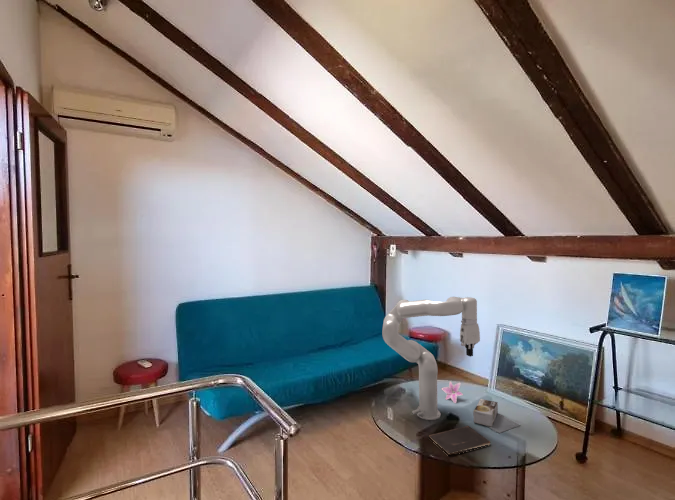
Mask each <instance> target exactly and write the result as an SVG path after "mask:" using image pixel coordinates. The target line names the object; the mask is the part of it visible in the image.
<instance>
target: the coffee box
mask: <svg viewBox="0 0 675 500" xmlns="http://www.w3.org/2000/svg"><path fill="white" fill-rule="evenodd" d="M498 404H499V403H498V401H494V400H489V399H484V398H480V399H479V401H478V403H477V404H476V406H475V407H474V409H473V411H472V413H473V423H474V424H478V425H484V426H485V425H487V426H491V427H492V425H493V423H494V420H495V418H496V416H497V414H498V413H499V411H498V409H499V405H498ZM487 426H486V427H487Z"/></svg>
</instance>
